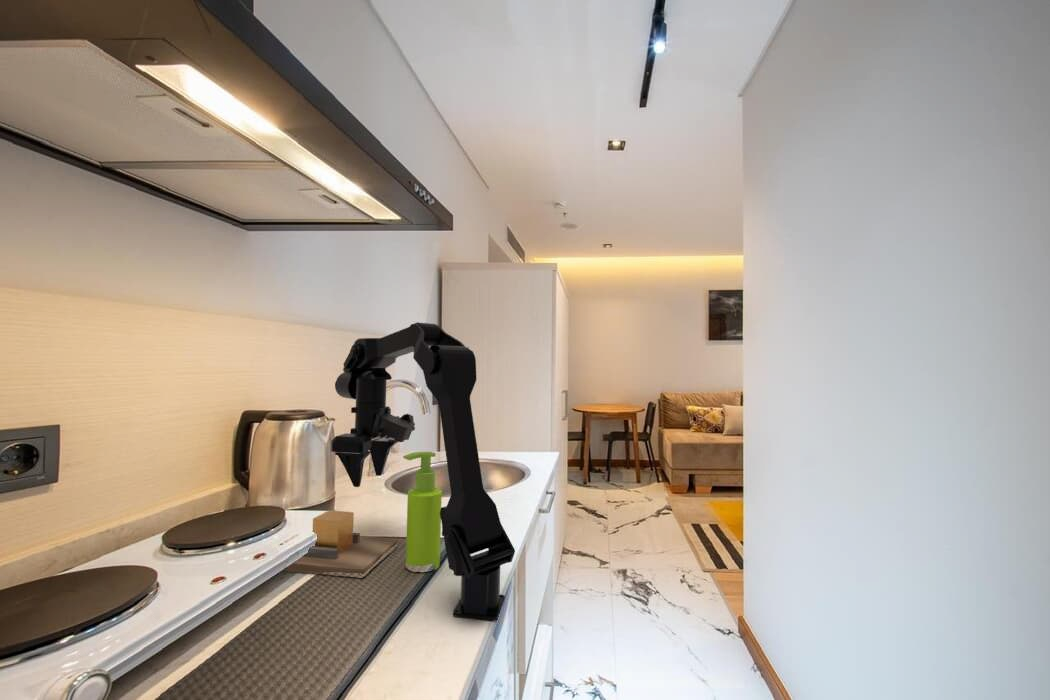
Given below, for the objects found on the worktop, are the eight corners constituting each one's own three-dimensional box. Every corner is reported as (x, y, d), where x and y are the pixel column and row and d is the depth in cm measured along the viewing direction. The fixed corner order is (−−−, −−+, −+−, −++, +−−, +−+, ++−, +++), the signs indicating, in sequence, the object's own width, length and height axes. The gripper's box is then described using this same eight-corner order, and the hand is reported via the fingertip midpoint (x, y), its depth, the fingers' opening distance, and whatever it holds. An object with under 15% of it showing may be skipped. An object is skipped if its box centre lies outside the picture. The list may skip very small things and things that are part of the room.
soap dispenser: (394, 566, 84) (397, 451, 85) (429, 556, 89) (432, 447, 89) (409, 578, 80) (413, 457, 80) (445, 567, 84) (449, 453, 85)
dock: (363, 579, 79) (363, 560, 79) (285, 571, 81) (286, 553, 81) (397, 546, 93) (398, 531, 93) (330, 540, 95) (331, 525, 95)
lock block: (337, 555, 84) (338, 521, 85) (311, 552, 85) (312, 518, 86) (352, 544, 89) (353, 512, 89) (328, 542, 90) (329, 510, 90)
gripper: (389, 408, 85) (386, 496, 85) (426, 399, 103) (424, 472, 103) (330, 405, 87) (327, 492, 86) (377, 397, 105) (375, 469, 105)
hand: (368, 480), depth 95 cm, fingers open, 9 cm apart
